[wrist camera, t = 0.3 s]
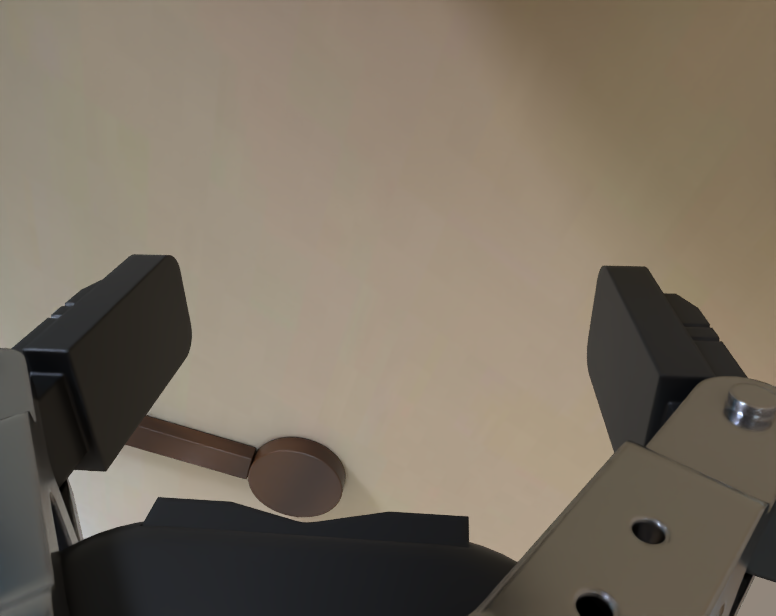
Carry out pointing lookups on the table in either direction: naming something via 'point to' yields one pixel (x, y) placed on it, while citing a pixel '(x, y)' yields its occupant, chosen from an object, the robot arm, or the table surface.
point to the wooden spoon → (255, 465)
